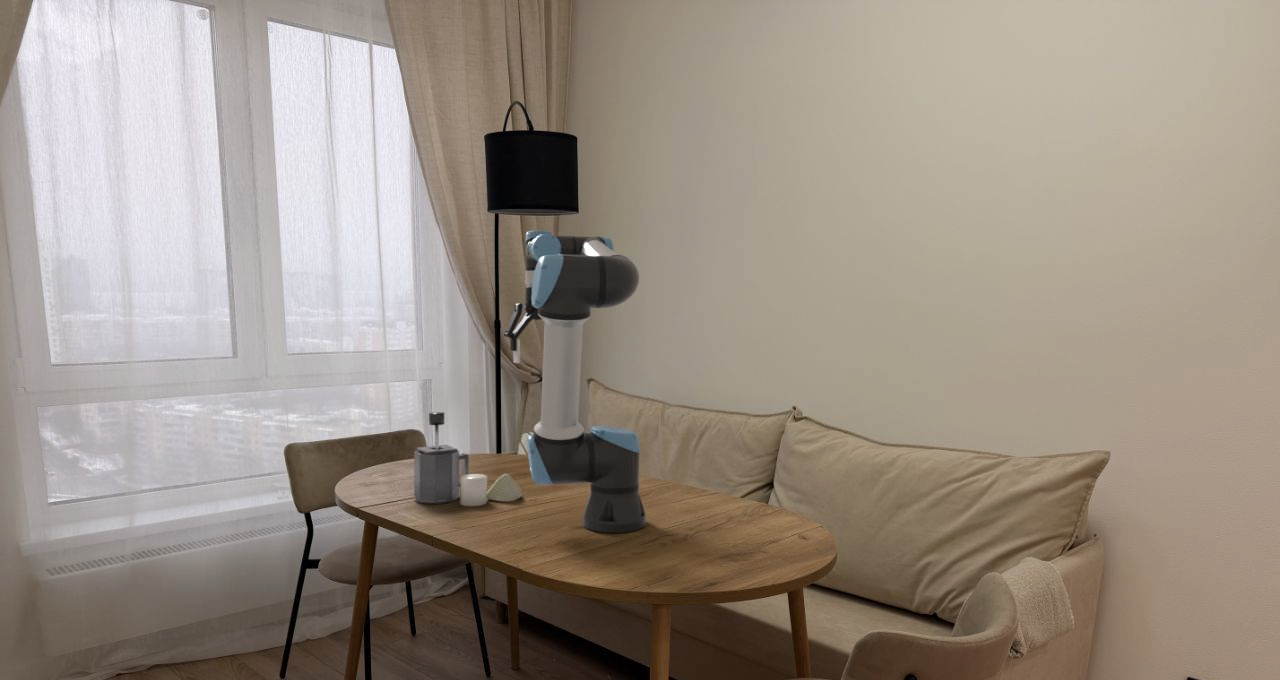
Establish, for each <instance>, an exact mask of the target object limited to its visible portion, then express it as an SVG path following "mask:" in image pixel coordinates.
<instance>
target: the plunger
mask: <svg viewBox="0 0 1280 680" xmlns="http://www.w3.org/2000/svg"><path fill="white" fill-rule="evenodd" d="M428 425H430V426H434V446H435V449H439V445H440V443H439V441H440V439H439V437H440V436H439V435H440V434H439V431H440V430H439V426H442V425H445V412H444V411H433V412H429V413H428ZM435 455H438V454H435Z"/></svg>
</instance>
